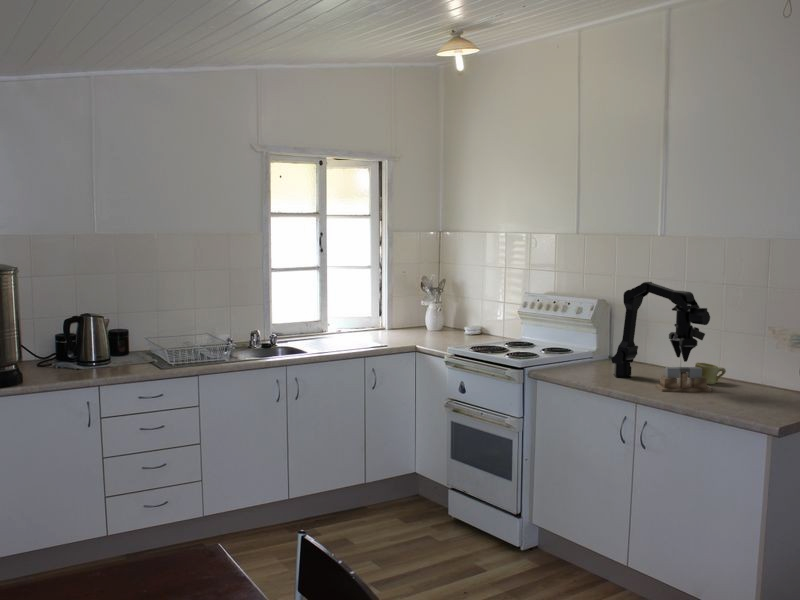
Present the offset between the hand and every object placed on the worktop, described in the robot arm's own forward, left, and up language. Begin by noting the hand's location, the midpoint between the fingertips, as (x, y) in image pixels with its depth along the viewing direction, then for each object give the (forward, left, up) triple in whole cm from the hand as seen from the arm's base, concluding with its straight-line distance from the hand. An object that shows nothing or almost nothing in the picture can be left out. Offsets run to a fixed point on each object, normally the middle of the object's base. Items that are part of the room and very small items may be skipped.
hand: (681, 359), depth 314 cm
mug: (+15, +11, -13) cm, 22 cm away
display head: (0, -1, -12) cm, 12 cm away
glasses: (0, -1, -7) cm, 7 cm away
